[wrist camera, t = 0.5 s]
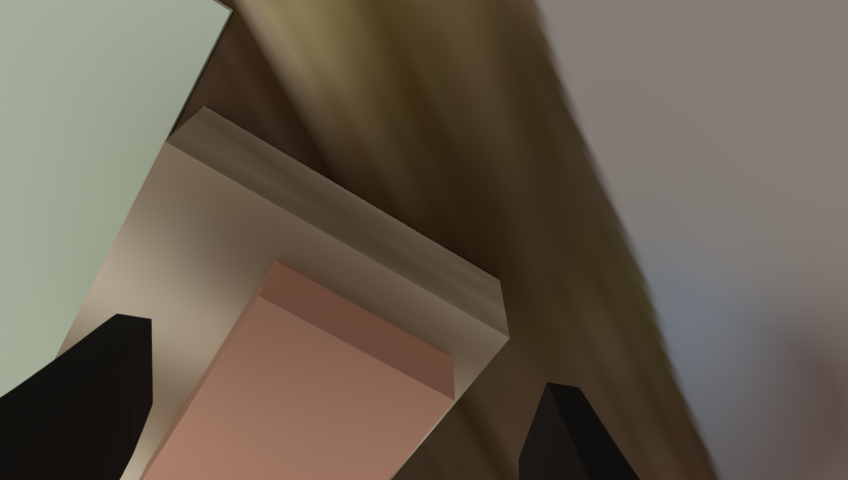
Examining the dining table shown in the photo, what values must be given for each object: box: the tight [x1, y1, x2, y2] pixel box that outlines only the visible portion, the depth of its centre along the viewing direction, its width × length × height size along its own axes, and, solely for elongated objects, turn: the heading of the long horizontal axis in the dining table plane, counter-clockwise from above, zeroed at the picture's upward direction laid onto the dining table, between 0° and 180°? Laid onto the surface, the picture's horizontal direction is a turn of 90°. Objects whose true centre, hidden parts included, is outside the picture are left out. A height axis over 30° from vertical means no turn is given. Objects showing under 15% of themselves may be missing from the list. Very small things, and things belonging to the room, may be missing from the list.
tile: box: [139, 260, 455, 480], centre depth 21 cm, size 9×6×2 cm, turn 147°
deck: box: [55, 106, 510, 480], centre depth 24 cm, size 16×11×4 cm
